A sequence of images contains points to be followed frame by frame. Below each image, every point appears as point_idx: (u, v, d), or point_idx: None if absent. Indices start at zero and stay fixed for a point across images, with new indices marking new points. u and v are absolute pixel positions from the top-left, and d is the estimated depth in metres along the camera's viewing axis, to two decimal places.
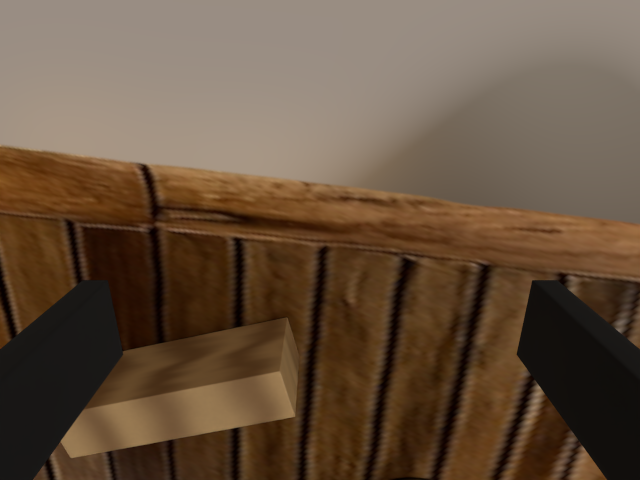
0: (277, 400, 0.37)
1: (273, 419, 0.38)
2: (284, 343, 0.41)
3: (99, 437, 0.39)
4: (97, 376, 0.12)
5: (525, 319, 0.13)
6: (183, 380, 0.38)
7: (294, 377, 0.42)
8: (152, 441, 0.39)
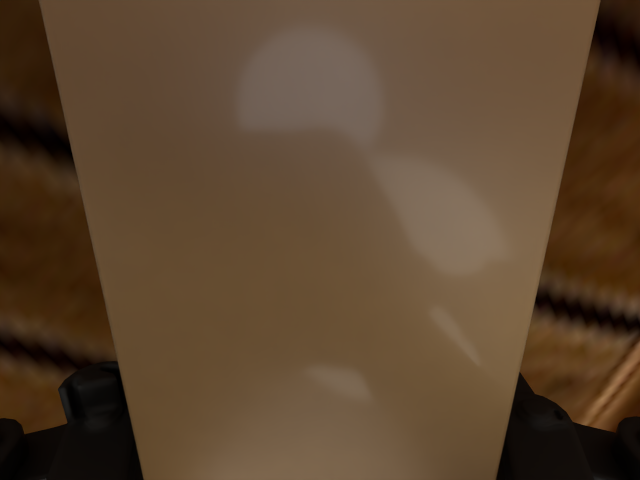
0: None
1: None
2: None
3: None
4: None
5: None
6: None
7: None
8: None
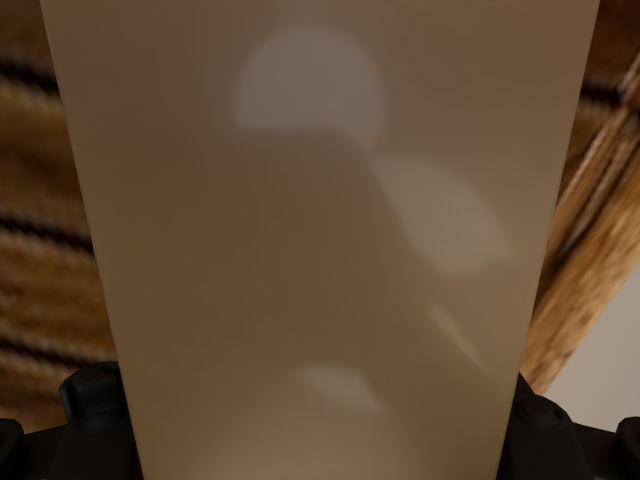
0: None
1: None
2: None
3: None
4: None
5: None
6: None
7: None
8: None
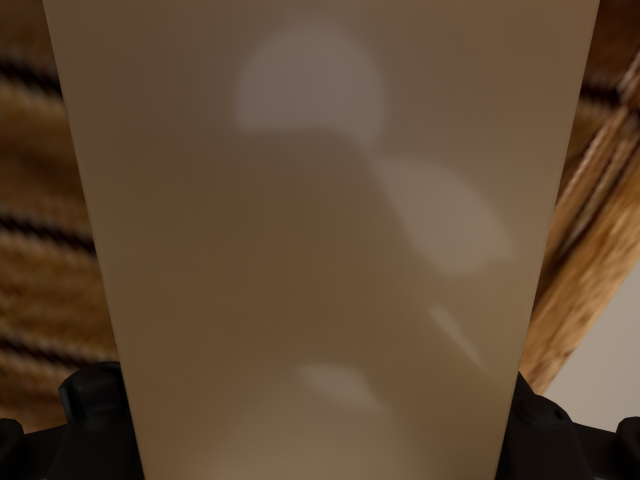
0: None
1: None
2: None
3: None
4: None
5: None
6: None
7: None
8: None
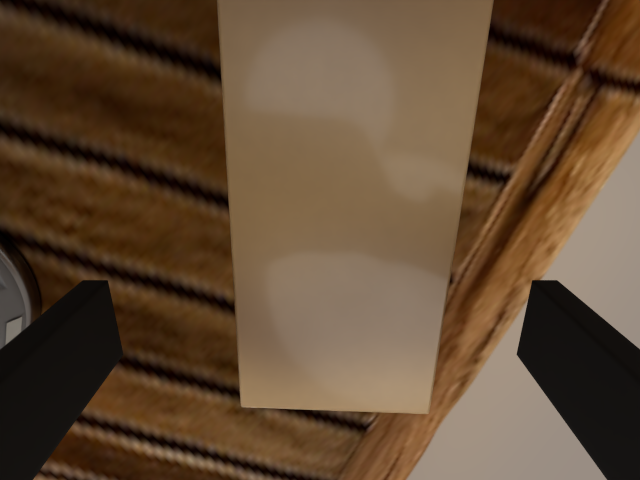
0: (321, 381, 0.11)
1: (244, 348, 0.11)
2: None
3: None
4: (97, 375, 0.12)
5: (525, 319, 0.13)
6: None
7: None
8: None
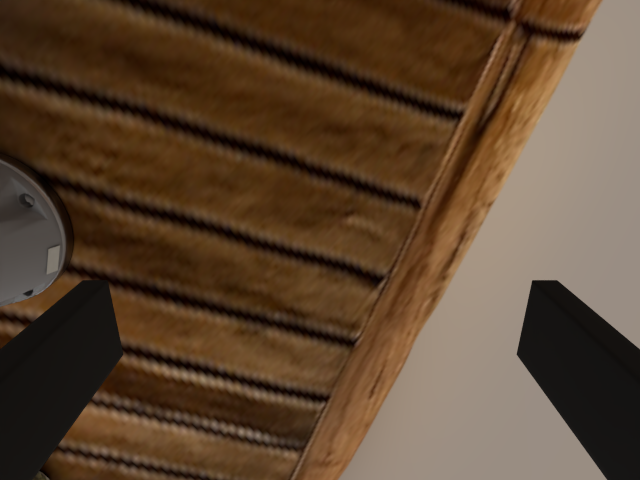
0: None
1: None
2: None
3: None
4: (97, 376, 0.12)
5: (525, 319, 0.13)
6: None
7: None
8: None
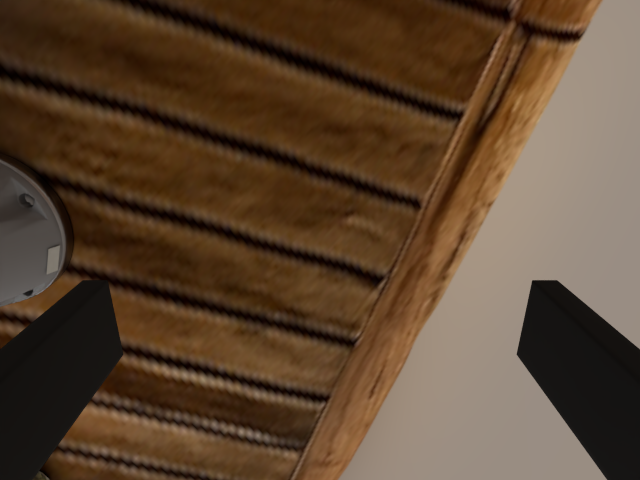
0: None
1: None
2: None
3: None
4: (97, 376, 0.12)
5: (525, 319, 0.13)
6: None
7: None
8: None
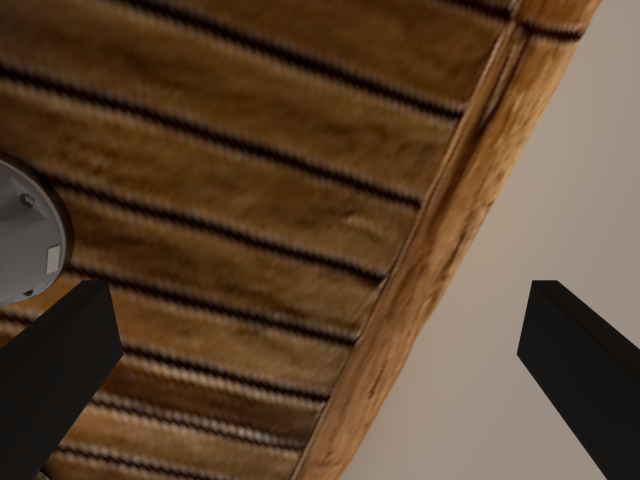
0: None
1: None
2: None
3: None
4: (97, 376, 0.12)
5: (525, 319, 0.13)
6: None
7: None
8: None
